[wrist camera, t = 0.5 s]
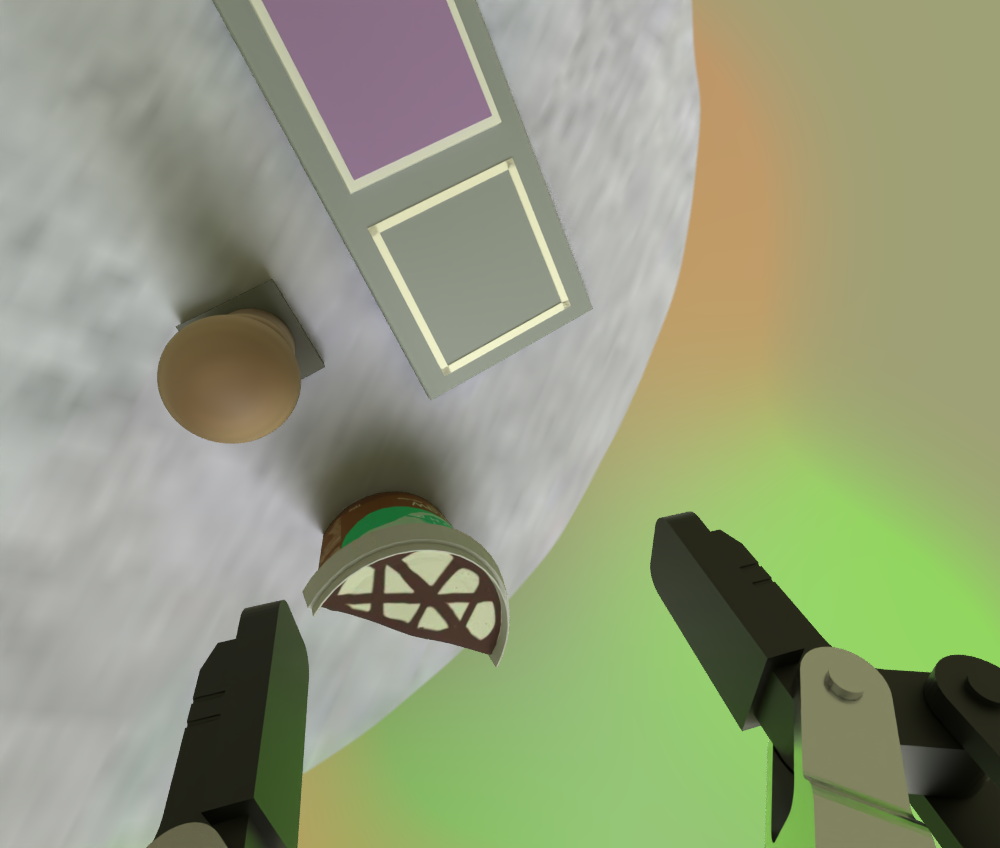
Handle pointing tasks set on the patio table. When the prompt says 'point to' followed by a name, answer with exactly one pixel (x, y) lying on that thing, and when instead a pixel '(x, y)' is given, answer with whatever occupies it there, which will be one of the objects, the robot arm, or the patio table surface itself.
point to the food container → (411, 574)
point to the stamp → (237, 367)
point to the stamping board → (419, 171)
